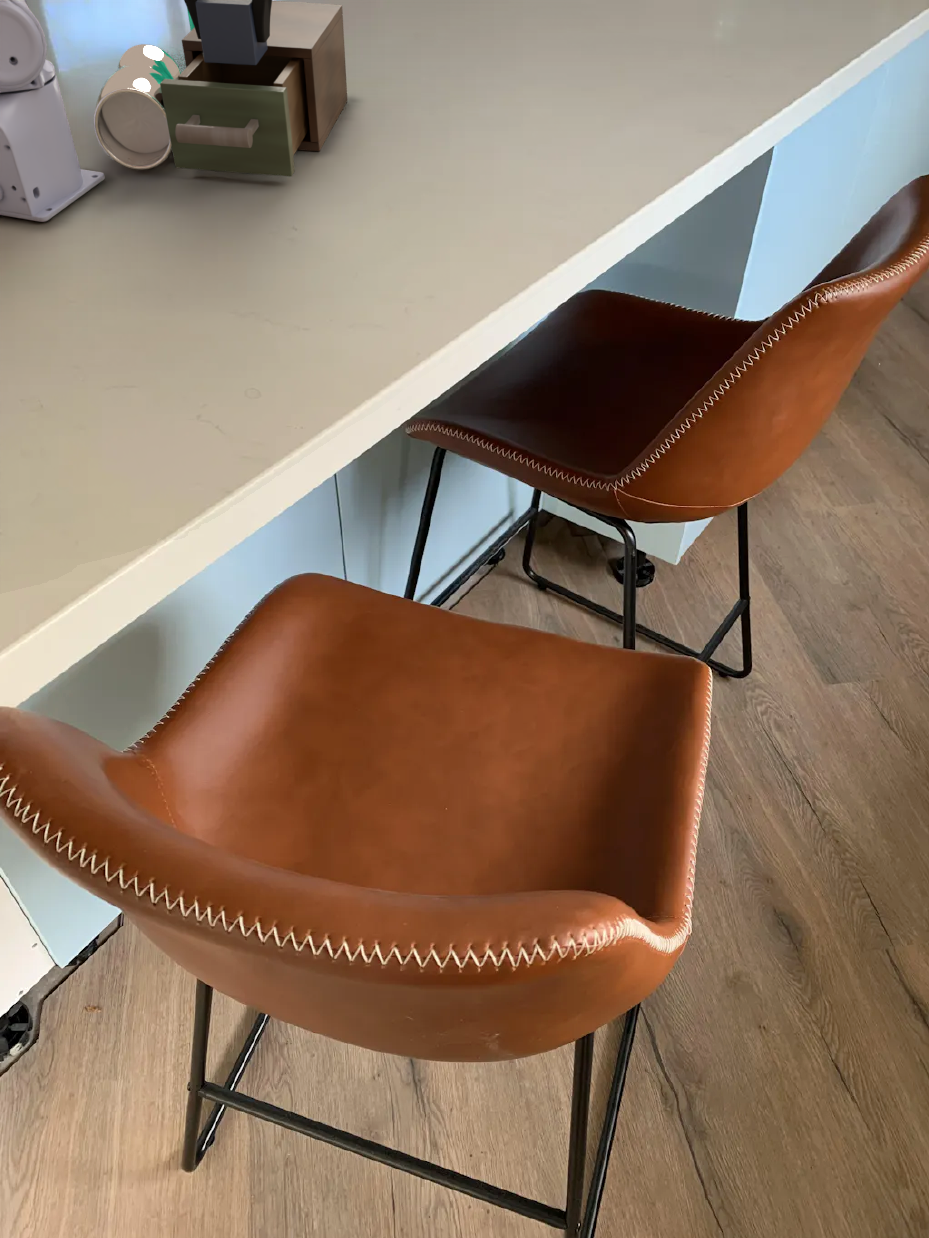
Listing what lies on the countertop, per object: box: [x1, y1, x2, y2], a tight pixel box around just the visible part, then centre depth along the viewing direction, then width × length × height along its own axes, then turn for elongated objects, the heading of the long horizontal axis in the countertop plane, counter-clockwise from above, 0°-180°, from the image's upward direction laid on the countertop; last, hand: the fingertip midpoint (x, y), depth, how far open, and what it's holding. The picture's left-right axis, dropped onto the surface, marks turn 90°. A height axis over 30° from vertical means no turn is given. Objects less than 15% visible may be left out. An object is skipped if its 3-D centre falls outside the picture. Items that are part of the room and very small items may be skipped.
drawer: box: [160, 51, 310, 177], centre depth 84 cm, size 17×10×7 cm, turn 174°
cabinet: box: [181, 0, 348, 152], centre depth 91 cm, size 14×12×9 cm
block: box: [196, 0, 268, 65], centre depth 79 cm, size 4×4×4 cm
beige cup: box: [93, 43, 182, 171], centre depth 87 cm, size 7×7×15 cm
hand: (233, 37), depth 80 cm, fingers closed on block, 4 cm apart
